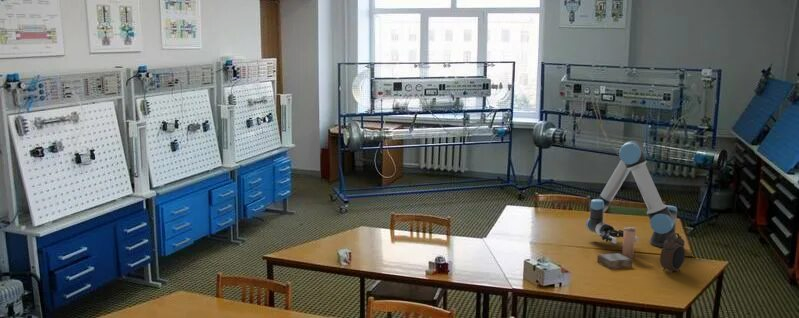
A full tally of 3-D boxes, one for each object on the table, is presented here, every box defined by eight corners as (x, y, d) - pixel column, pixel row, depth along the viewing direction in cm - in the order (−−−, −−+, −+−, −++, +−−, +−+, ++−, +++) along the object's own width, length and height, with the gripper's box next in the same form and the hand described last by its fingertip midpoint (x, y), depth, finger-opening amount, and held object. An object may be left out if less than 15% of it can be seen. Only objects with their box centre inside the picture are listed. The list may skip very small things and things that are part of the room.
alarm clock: (670, 276, 358) (674, 237, 354) (657, 272, 363) (660, 234, 360) (686, 270, 367) (689, 232, 363) (673, 267, 372) (676, 229, 369)
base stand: (618, 260, 383) (619, 252, 382) (631, 266, 372) (632, 259, 371) (597, 261, 379) (597, 254, 378) (610, 268, 368) (610, 261, 367)
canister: (629, 254, 393) (631, 226, 390) (635, 257, 387) (637, 229, 385) (619, 255, 391) (621, 227, 389) (626, 258, 385) (628, 229, 383)
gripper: (623, 235, 413) (646, 245, 392) (585, 238, 405) (606, 248, 385) (624, 222, 411) (647, 232, 391) (586, 225, 404) (607, 235, 384)
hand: (626, 240), depth 388 cm, fingers open, 13 cm apart
